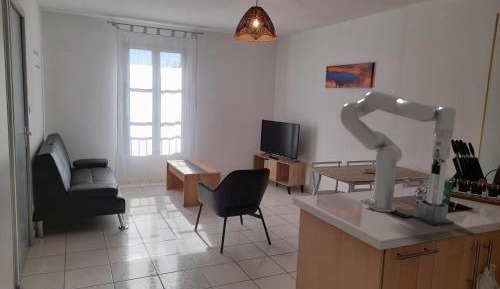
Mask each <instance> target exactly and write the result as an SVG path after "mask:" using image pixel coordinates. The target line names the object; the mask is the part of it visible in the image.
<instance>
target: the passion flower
mask: <svg viewBox="0 0 500 289" xmlns="http://www.w3.org/2000/svg"><path fill="white" fill-rule="evenodd" d="M427 191H428V186H424V187H421V186H418V187H417V188H416V189H415V191H414V192H415V193H413V195H414V197H415V203H419V201H420V200H423V199H426V198H427Z"/></svg>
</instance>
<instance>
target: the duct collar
mask: <svg viewBox="0 0 500 289" xmlns="http://www.w3.org/2000/svg"><path fill="white" fill-rule="evenodd" d="M417 208H418V209H417V213H411V214H409V217H411V218H413V219H416V220H417V221H421V222H423V223H425V224H427V225H430V226H432V227H438V226H444V225H453V224H455V221H453V220H451V219H449V218H448V213H449V212H448V211H449V205H447V204H445V203H442V205H441V207H437V206H431V205H427V204H426V199H422V200H420V201H419V202H418V207H417ZM447 218H448V219H447Z"/></svg>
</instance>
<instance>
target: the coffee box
mask: <svg viewBox="0 0 500 289" xmlns="http://www.w3.org/2000/svg"><path fill="white" fill-rule="evenodd" d="M453 184H454V181H451V180H446V179H445V184H444V191H443V198H442V203H445V204H447V205H448V206H449V205H450V202H451V196H452V191H453Z"/></svg>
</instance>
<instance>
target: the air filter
mask: <svg viewBox="0 0 500 289" xmlns="http://www.w3.org/2000/svg"><path fill="white" fill-rule="evenodd" d="M438 162H439V160H438ZM432 165H433V161H431V162H430V169H429V171H430V172H429V177H428V178H429V179H428V183H427V184H428V185H427V187H428V191H427V198H425V200H426V204H427V205H431V206H437V207H441V205H442V198H443V191H444V184H445V180H446V175H447V169H448V163H447V161H446V162H443V161H441V162H440V173H439V174H433V173H431V172H432Z"/></svg>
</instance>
